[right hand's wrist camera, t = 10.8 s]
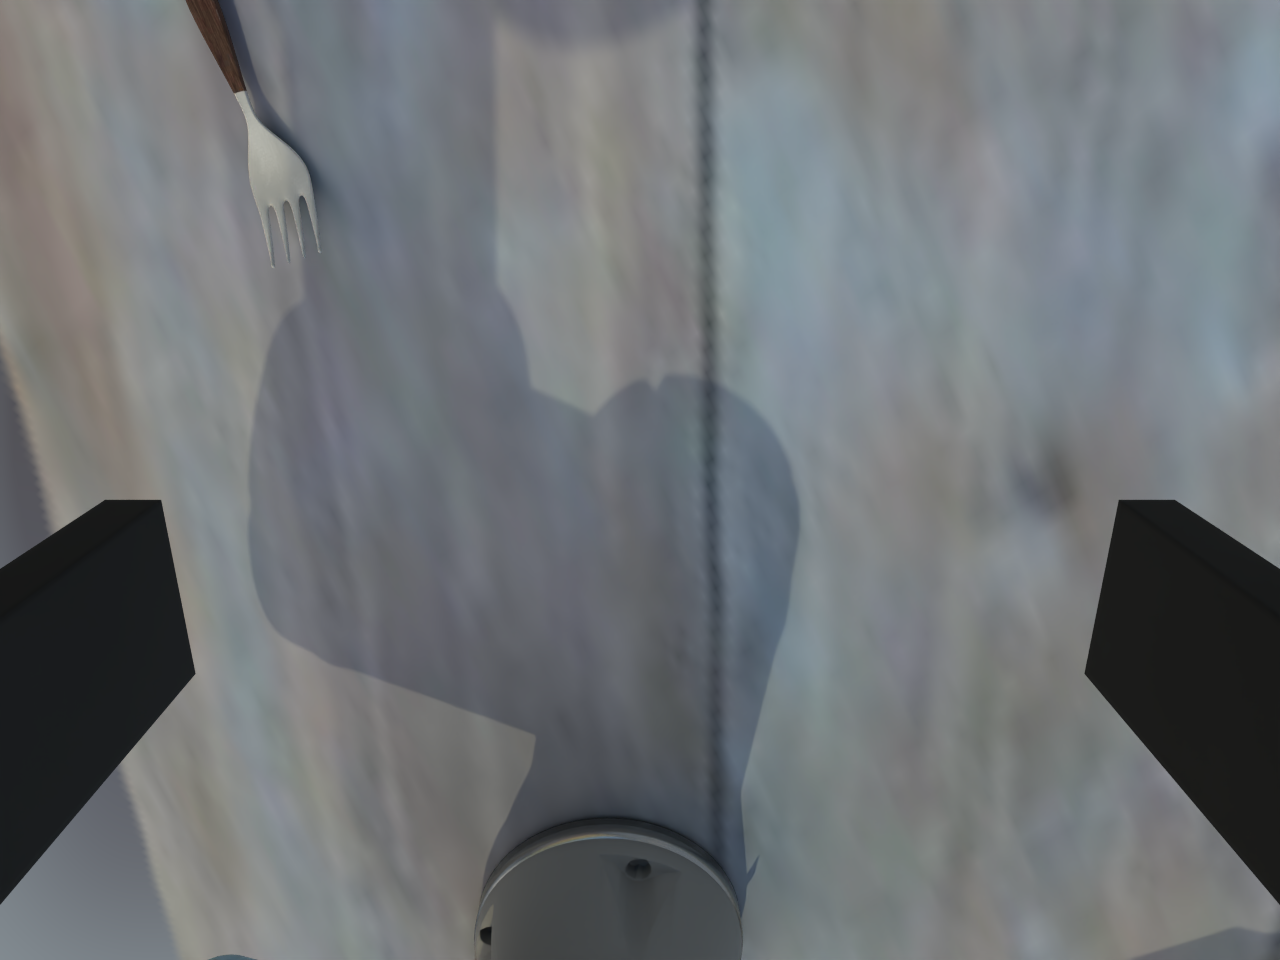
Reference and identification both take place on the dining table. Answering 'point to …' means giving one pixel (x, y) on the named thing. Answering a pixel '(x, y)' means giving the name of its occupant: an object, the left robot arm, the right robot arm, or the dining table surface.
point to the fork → (260, 139)
